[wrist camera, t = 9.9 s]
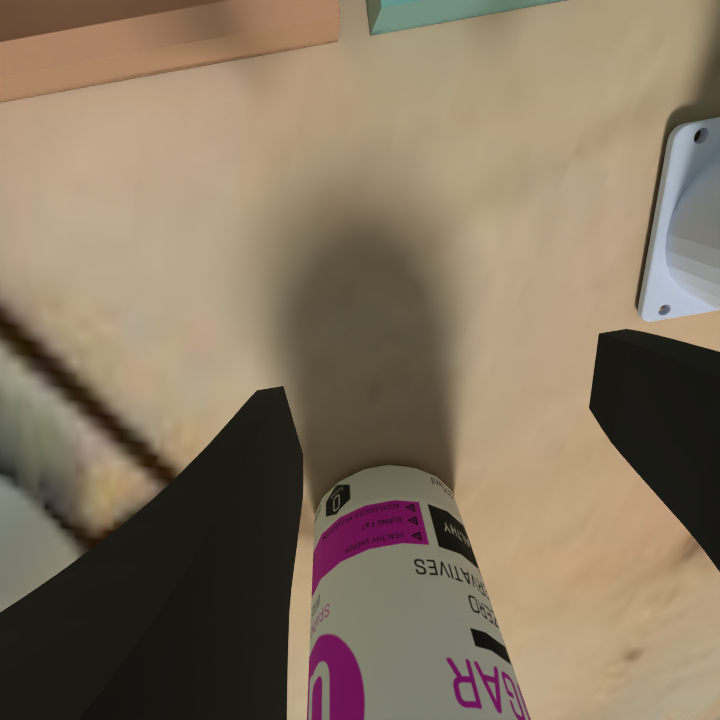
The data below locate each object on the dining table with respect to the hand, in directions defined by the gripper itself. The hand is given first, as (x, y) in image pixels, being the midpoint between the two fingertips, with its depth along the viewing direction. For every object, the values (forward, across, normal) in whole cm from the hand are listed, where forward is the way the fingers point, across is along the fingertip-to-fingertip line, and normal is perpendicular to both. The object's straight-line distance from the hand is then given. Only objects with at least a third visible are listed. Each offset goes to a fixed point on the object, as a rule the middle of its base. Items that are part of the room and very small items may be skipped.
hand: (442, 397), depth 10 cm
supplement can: (+10, +2, +14) cm, 17 cm away
